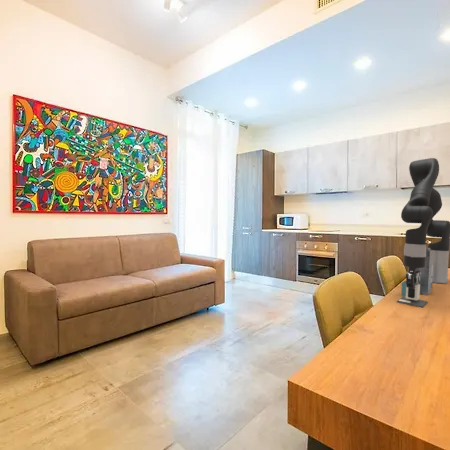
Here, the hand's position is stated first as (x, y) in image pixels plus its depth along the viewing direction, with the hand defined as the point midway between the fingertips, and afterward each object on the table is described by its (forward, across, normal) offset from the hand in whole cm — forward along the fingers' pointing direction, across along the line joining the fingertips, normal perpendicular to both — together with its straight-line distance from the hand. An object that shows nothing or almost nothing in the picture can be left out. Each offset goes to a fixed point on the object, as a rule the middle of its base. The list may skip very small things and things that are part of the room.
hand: (412, 296), depth 118 cm
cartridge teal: (+3, -10, -4) cm, 11 cm away
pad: (+3, 0, 0) cm, 3 cm away
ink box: (+3, -34, -4) cm, 34 cm away
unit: (+3, -21, -2) cm, 21 cm away
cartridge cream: (+1, 0, 0) cm, 1 cm away
